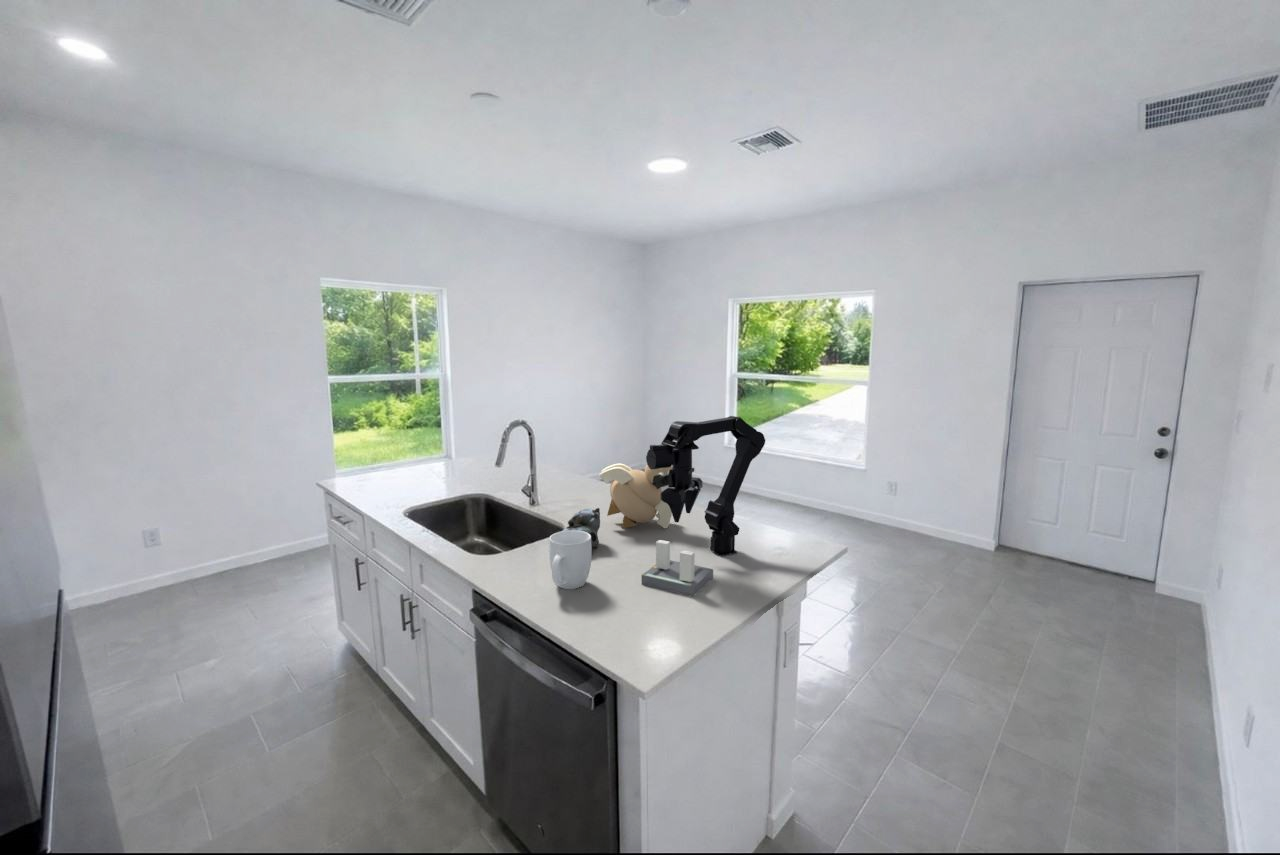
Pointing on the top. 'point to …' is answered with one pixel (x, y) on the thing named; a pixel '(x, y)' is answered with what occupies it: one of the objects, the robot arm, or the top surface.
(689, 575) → the block
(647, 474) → the chick figurine
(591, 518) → the lucky cat figurine
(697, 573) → the breaker panel
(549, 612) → the top surface
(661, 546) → the block
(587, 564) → the mug
